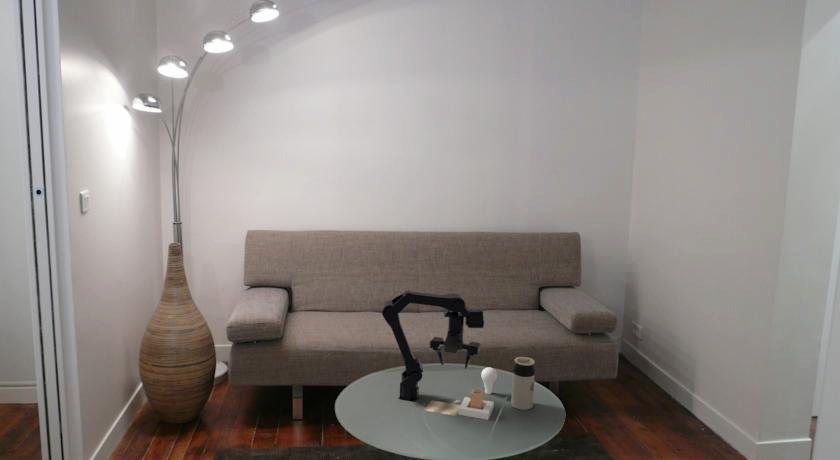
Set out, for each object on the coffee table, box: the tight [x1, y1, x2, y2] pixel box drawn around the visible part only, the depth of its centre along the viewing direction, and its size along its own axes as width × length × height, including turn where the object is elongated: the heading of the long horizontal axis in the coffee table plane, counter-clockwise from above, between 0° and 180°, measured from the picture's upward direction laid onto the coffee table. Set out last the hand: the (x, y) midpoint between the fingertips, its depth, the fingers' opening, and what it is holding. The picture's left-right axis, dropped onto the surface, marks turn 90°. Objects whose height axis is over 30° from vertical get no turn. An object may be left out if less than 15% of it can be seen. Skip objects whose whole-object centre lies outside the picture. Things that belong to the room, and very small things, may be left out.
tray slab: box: [423, 399, 461, 417], centre depth 223 cm, size 12×9×1 cm
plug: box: [469, 388, 485, 410], centre depth 220 cm, size 4×4×7 cm
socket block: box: [457, 396, 495, 421], centre depth 221 cm, size 11×10×4 cm
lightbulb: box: [480, 366, 498, 395], centre depth 236 cm, size 6×6×11 cm
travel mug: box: [510, 356, 536, 411], centre depth 226 cm, size 8×8×18 cm
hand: (454, 366), depth 230 cm, fingers open, 9 cm apart
